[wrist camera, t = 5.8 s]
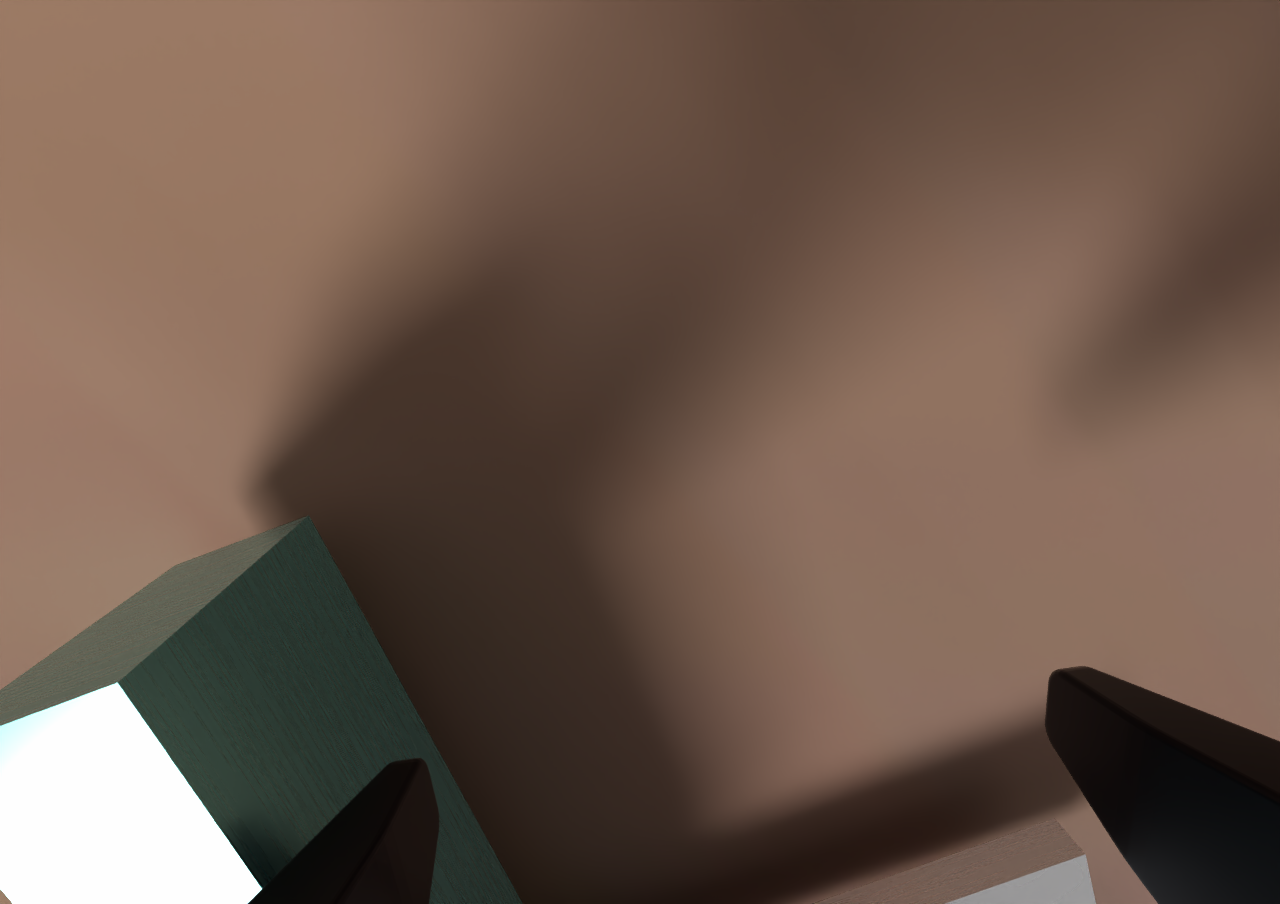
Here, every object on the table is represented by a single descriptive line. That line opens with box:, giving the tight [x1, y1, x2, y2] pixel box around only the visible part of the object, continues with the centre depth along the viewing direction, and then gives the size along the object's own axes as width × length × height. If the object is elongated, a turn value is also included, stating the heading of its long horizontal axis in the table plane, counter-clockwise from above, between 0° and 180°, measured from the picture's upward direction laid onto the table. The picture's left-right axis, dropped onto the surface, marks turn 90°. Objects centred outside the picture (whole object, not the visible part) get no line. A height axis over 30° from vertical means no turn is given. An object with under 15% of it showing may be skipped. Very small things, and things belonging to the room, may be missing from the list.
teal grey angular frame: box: [0, 515, 1096, 904], centre depth 10 cm, size 12×13×5 cm
